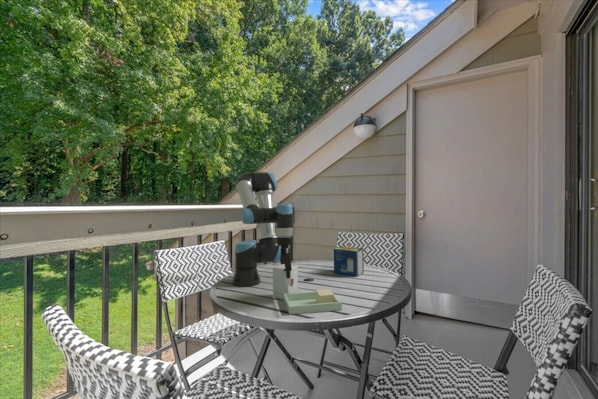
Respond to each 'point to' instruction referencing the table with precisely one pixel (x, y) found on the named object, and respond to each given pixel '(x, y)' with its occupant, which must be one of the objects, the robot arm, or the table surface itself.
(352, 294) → the table surface
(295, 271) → the supplement box
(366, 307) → the table surface
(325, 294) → the tan rectangular block
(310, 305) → the green tray
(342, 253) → the protein box
